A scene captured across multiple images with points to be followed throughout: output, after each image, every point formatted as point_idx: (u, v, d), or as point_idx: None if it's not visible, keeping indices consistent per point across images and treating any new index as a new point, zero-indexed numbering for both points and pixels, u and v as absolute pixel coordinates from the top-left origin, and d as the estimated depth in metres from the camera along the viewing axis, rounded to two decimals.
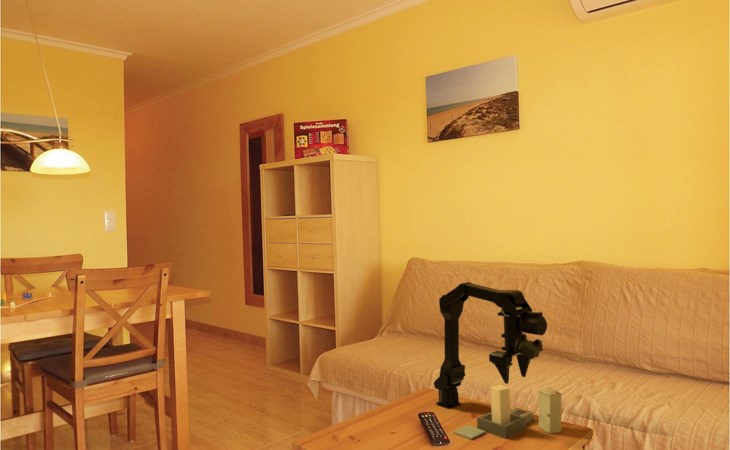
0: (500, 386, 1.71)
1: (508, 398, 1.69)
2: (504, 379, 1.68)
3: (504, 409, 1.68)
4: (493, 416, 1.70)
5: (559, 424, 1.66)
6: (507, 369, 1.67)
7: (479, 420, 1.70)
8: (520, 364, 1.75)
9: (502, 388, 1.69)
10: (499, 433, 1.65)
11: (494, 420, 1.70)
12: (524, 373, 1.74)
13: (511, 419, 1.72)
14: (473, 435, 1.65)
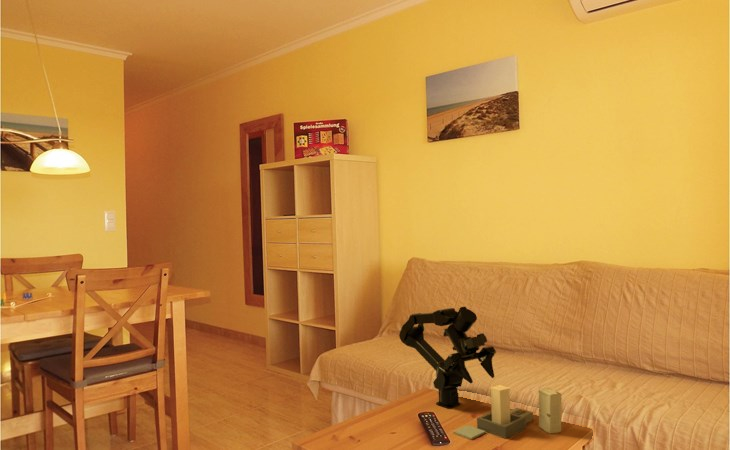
0: (500, 386, 1.71)
1: (508, 398, 1.69)
2: (468, 379, 1.75)
3: (504, 409, 1.68)
4: (493, 416, 1.70)
5: (559, 424, 1.66)
6: (463, 367, 1.76)
7: (479, 420, 1.70)
8: (486, 368, 1.82)
9: (502, 388, 1.69)
10: (499, 433, 1.65)
11: (494, 420, 1.70)
12: (491, 373, 1.80)
13: (511, 419, 1.72)
14: (473, 435, 1.65)
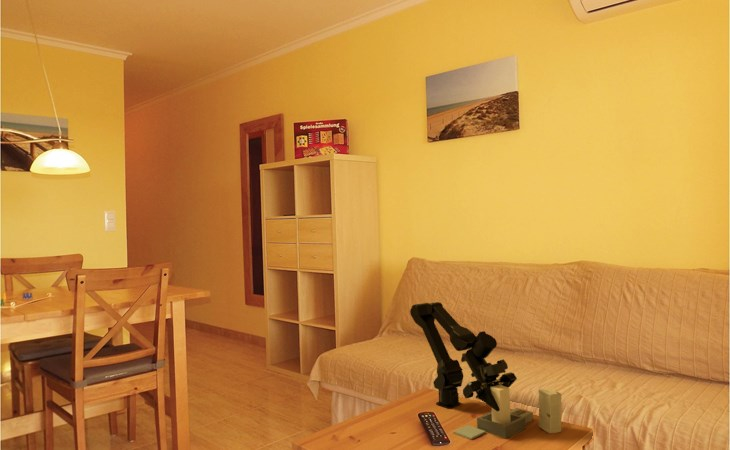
0: (500, 386, 1.71)
1: (508, 398, 1.69)
2: (494, 407, 1.69)
3: (504, 409, 1.68)
4: (493, 416, 1.70)
5: (559, 424, 1.66)
6: (489, 394, 1.69)
7: (479, 420, 1.70)
8: None
9: (502, 388, 1.69)
10: (499, 433, 1.65)
11: (494, 420, 1.70)
12: None
13: (511, 419, 1.72)
14: (473, 435, 1.65)
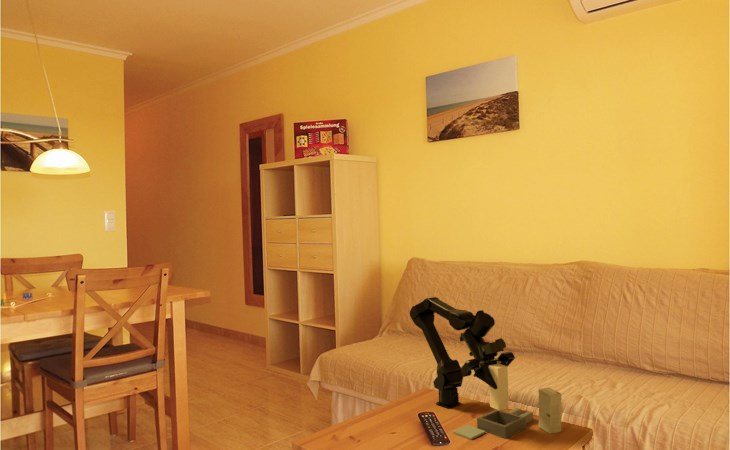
0: (498, 364, 1.71)
1: (506, 376, 1.69)
2: (492, 385, 1.68)
3: (502, 388, 1.68)
4: (491, 394, 1.70)
5: (559, 424, 1.66)
6: (487, 373, 1.69)
7: (479, 420, 1.70)
8: None
9: (500, 366, 1.69)
10: (499, 433, 1.65)
11: (492, 398, 1.70)
12: None
13: (511, 419, 1.72)
14: (473, 435, 1.65)
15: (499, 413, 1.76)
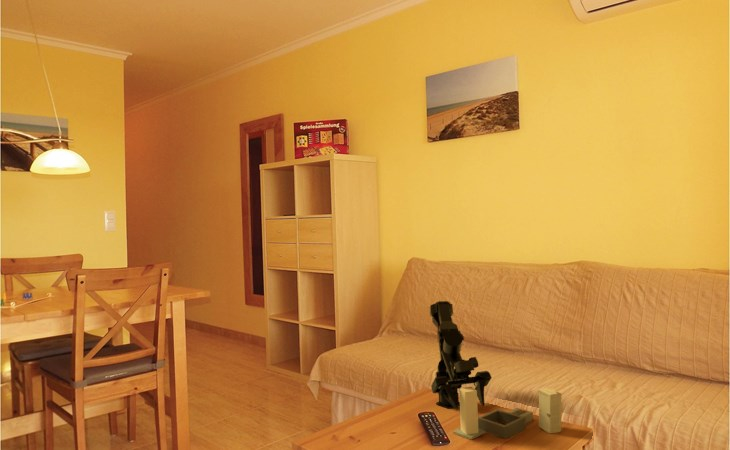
0: (469, 388, 1.69)
1: (475, 401, 1.66)
2: (453, 405, 1.66)
3: (471, 412, 1.66)
4: (461, 417, 1.69)
5: (559, 424, 1.66)
6: (449, 392, 1.67)
7: (479, 420, 1.70)
8: (478, 395, 1.71)
9: (469, 390, 1.67)
10: (499, 433, 1.65)
11: (462, 422, 1.68)
12: (482, 400, 1.68)
13: (511, 419, 1.72)
14: (473, 435, 1.65)
15: (499, 413, 1.76)
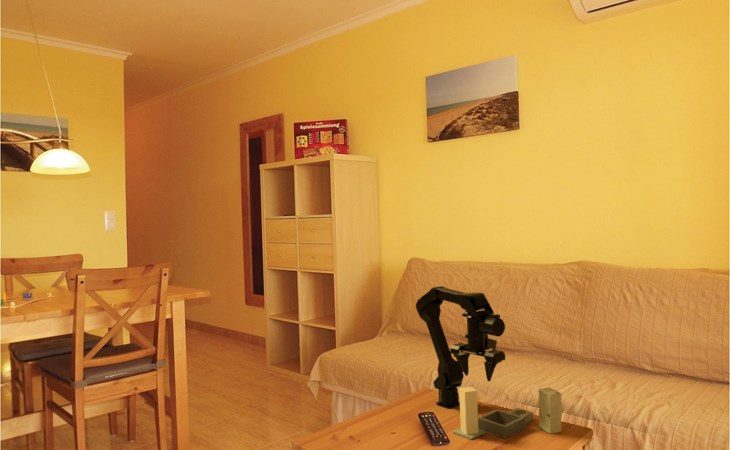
0: (469, 388, 1.69)
1: (475, 401, 1.66)
2: (489, 377, 1.76)
3: (471, 412, 1.66)
4: (461, 417, 1.69)
5: (559, 424, 1.66)
6: None
7: (479, 420, 1.70)
8: (464, 364, 1.83)
9: (469, 390, 1.67)
10: (499, 433, 1.65)
11: (462, 422, 1.68)
12: (467, 371, 1.84)
13: (511, 419, 1.72)
14: (473, 435, 1.65)
15: (499, 413, 1.76)
